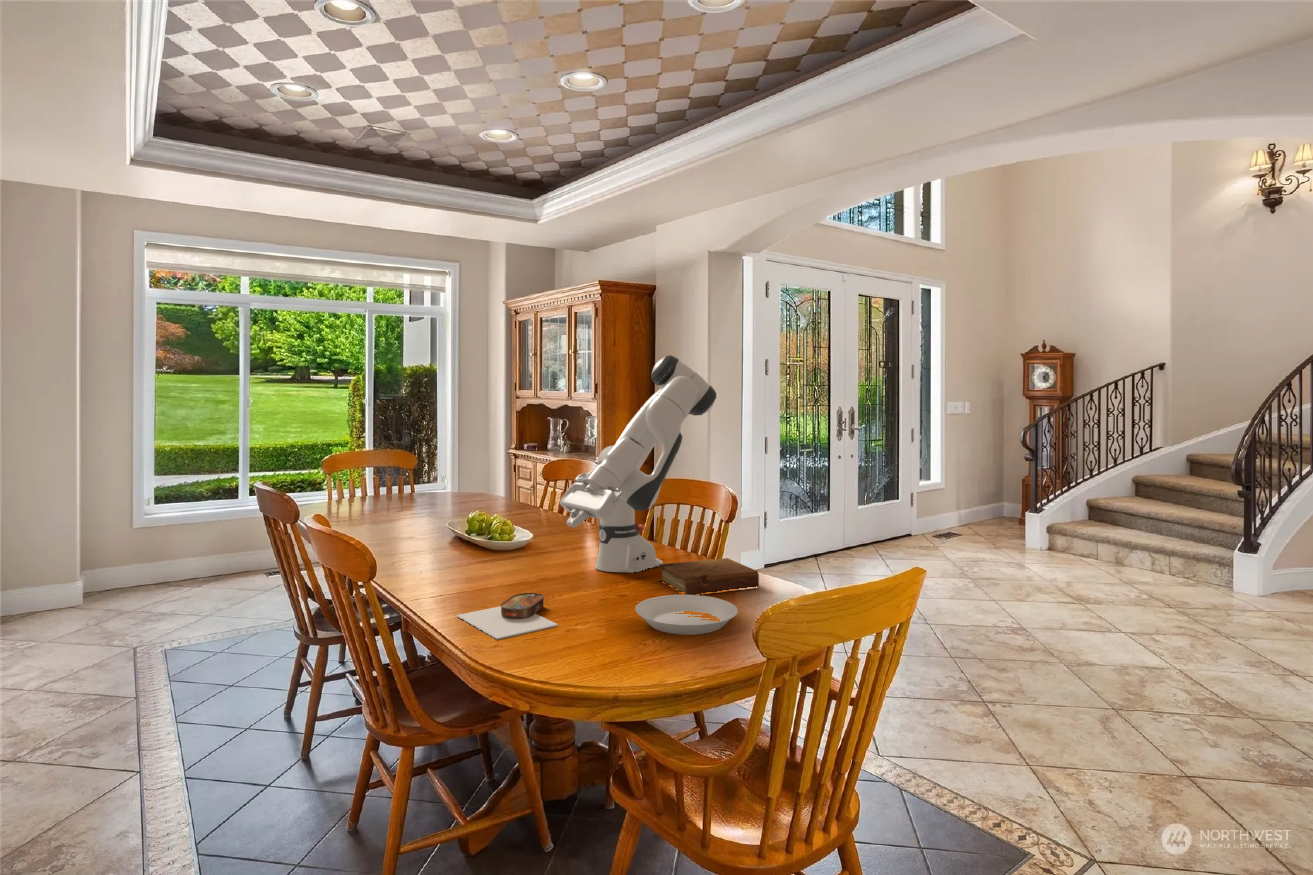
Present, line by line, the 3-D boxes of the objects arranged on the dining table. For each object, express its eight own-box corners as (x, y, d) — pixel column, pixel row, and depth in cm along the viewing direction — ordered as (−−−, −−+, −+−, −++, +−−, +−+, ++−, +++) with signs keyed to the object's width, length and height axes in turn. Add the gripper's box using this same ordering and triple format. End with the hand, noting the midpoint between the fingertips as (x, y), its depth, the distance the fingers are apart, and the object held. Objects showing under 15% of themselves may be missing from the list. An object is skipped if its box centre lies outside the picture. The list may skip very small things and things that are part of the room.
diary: (686, 599, 197) (686, 579, 197) (659, 583, 214) (659, 564, 214) (758, 590, 206) (758, 570, 206) (727, 575, 223) (727, 557, 223)
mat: (514, 605, 189) (514, 603, 189) (558, 625, 172) (558, 624, 172) (456, 616, 179) (456, 615, 179) (496, 639, 162) (496, 638, 162)
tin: (527, 609, 175) (494, 605, 176) (526, 622, 175) (494, 617, 177) (548, 593, 189) (518, 589, 191) (548, 605, 190) (518, 601, 191)
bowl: (620, 614, 182) (620, 600, 182) (708, 604, 192) (708, 590, 192) (659, 646, 159) (659, 630, 159) (757, 632, 169) (757, 617, 169)
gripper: (631, 497, 186) (599, 539, 180) (588, 489, 202) (557, 527, 196) (617, 481, 183) (584, 523, 177) (574, 474, 199) (543, 512, 193)
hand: (570, 525), depth 187 cm, fingers closed
